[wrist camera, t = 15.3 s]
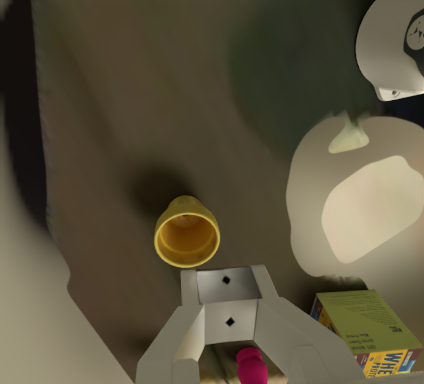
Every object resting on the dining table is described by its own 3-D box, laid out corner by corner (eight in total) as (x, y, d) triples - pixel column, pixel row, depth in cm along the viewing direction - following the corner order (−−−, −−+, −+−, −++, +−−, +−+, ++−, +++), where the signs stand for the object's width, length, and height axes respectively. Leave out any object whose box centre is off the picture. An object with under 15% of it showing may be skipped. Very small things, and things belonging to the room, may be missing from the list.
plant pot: (144, 203, 52) (139, 234, 43) (194, 175, 51) (199, 200, 42) (176, 243, 57) (177, 278, 48) (222, 217, 55) (232, 248, 47)
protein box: (314, 292, 68) (351, 354, 54) (374, 288, 70) (425, 347, 56) (306, 324, 72) (338, 389, 58) (363, 319, 74) (407, 381, 60)
